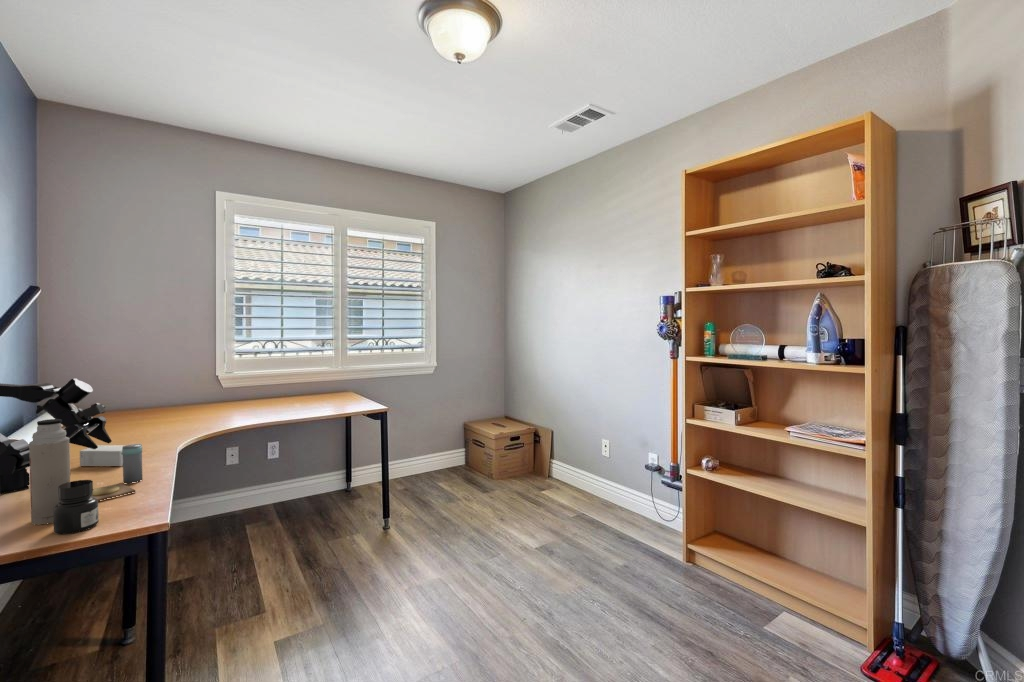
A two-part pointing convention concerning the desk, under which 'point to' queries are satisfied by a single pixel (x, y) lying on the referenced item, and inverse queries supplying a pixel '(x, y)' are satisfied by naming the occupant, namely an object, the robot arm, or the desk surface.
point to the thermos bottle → (47, 468)
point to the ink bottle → (75, 507)
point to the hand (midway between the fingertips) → (103, 445)
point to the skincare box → (102, 456)
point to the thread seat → (111, 491)
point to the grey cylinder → (132, 463)
